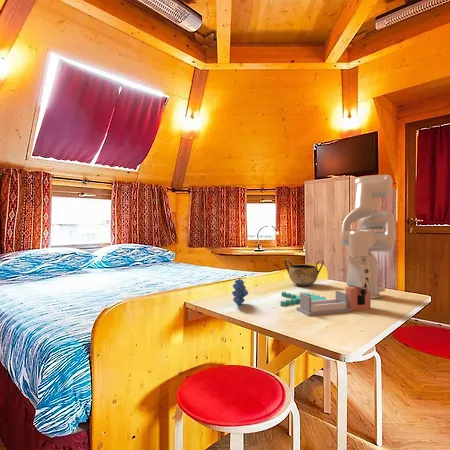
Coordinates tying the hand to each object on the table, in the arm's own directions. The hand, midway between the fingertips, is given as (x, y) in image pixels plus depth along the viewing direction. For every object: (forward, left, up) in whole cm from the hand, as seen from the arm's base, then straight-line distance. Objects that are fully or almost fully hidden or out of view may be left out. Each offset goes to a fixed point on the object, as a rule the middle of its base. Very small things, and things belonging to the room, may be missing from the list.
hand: (358, 303), depth 133 cm
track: (+16, -1, -2) cm, 16 cm away
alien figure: (+16, -17, -3) cm, 24 cm away
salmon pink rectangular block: (0, 0, -2) cm, 2 cm away
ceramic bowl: (-3, -49, -3) cm, 49 cm away
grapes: (+46, -18, -2) cm, 49 cm away
